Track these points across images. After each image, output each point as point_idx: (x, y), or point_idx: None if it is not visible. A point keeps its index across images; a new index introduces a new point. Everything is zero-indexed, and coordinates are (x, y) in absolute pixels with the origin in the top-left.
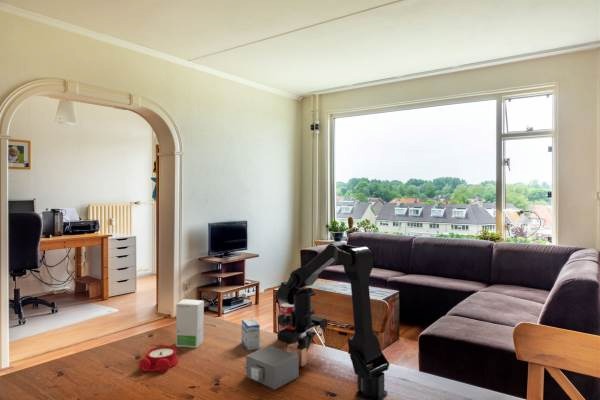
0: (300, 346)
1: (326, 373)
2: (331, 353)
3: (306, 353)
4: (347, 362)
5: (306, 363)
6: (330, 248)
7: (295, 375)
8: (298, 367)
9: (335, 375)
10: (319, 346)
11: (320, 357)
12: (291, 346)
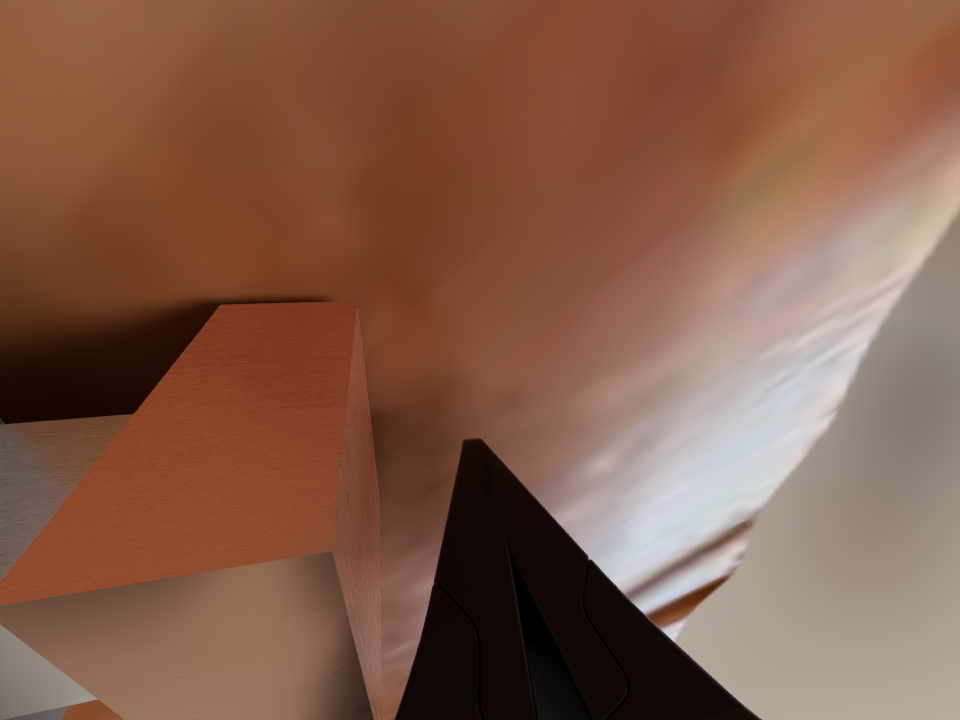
0: (337, 718)
1: (393, 610)
2: (739, 437)
3: (380, 631)
4: (622, 568)
5: (379, 502)
6: None
7: None
8: (66, 707)
9: (412, 638)
10: (906, 253)
11: (626, 434)
12: (108, 688)
